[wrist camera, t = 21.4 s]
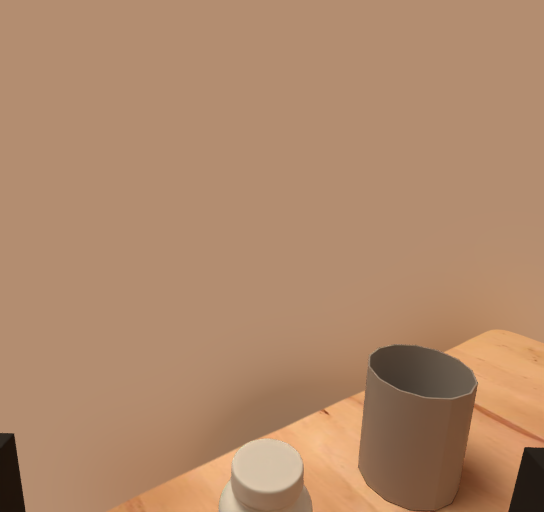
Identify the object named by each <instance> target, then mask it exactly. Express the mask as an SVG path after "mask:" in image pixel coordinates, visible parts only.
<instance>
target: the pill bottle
mask: <svg viewBox="0 0 544 512" xmlns="http://www.w3.org/2000/svg"><path fill="white" fill-rule="evenodd" d="M303 473H304V467H303V461H302V458H301V456H300V454H299V453H298V452H297V450H296V449H295V448H293V447H292V446H291V445H289V444H287V443H285V442H283V441H280V440H275V439H259V440H254V441H251V442H249V443H247V444H245V445H243V446H242V447H241V448H240V449H239V450H238V451H237V452H236V454H235V456H234V458H233V461H232V470H231V479H230V480H229V482H228V483H227V484H226V486H225V487H224V489H223V491H222V494H221V497H220V501H219V512H313V510H312V501H311V497H310V495H309V492H308V490H307V488H306V487H305V485H304V480H303Z"/></svg>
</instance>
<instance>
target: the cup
mask: <svg viewBox="0 0 544 512" xmlns="http://www.w3.org/2000/svg"><path fill="white" fill-rule="evenodd" d="M477 385H478V382H477V380H476V377H475V375H474V373H473V371H472V370H471V369H470V368H469V367H467V366H466V365H465V364H464V363H462V362H461V361H460V360H459V359H457V358H455V357H452V356H450V355H448V354H445V353H443V352H441V351H439V350H435V349H430V348H426V347H422V346H418V345H402V344H401V345H400V344H394V345H389V346H385V347H380V348H378V349H377V350H375V351H374V352H373V353H371V354H370V355H369V360H368V370H367V380H366V390H365V400H364V410H363V420H362V430H361V440H360V450H359V463H358V468H359V470H360V472H361V474H362V476H363V477H364V479H365V481H366V483H367V485H368V486H370V487H371V488H372V489H373V490H374V491H375V492H377V493H378V494H379V495H380V496H381V497H383V498H384V499H385V500H387V501H389V502H392V503H394V504H396V505H399V506H401V507H404V508H406V509H409V510H421V511H435V510H438V509H440V508H442V507H444V506H447V505H449V504H451V503H452V501H453V499H454V497H455V495H456V493H457V491H458V489H459V484H460V479H461V473H462V468H463V462H464V457H465V451H466V446H467V440H468V435H469V429H470V424H471V418H472V413H473V407H474V402H475V396H476V391H477Z"/></svg>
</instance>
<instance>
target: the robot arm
mask: <svg viewBox="0 0 544 512" xmlns="http://www.w3.org/2000/svg"><path fill="white" fill-rule="evenodd" d="M0 512H25V505H24V498H23V491H22V485H21V478H20V471H19V465H18V457H17V450H16V444H15V437H14V434H12V433H0ZM508 512H544V448H533V447H525V448H524V452H523V456H522V460H521V464H520V468H519V472H518V476H517V480H516V484H515V488H514V492H513V496H512V500H511V504H510V508H509V511H508Z"/></svg>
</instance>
